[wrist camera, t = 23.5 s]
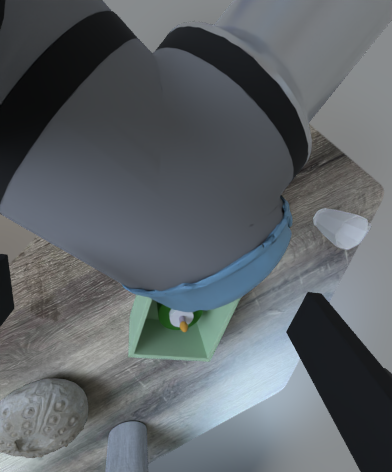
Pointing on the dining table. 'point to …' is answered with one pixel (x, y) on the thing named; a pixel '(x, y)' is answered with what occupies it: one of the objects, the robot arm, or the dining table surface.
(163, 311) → the candle
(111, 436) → the vase
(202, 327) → the bin
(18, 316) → the dining table surface
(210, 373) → the dining table surface
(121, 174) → the robot arm
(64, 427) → the decorative shell
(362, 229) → the cup
